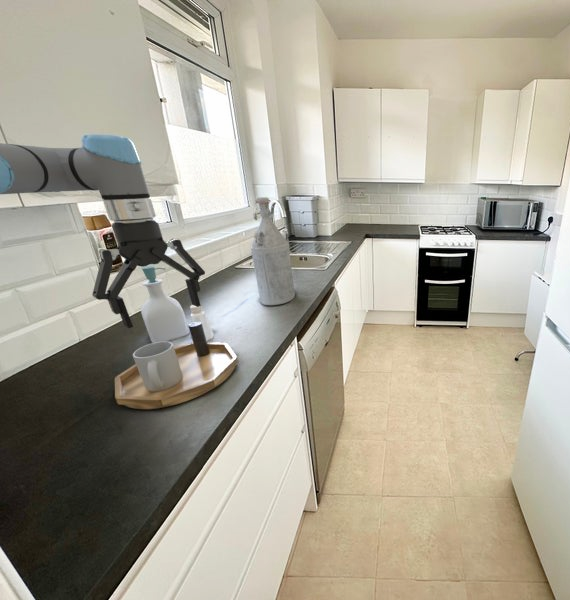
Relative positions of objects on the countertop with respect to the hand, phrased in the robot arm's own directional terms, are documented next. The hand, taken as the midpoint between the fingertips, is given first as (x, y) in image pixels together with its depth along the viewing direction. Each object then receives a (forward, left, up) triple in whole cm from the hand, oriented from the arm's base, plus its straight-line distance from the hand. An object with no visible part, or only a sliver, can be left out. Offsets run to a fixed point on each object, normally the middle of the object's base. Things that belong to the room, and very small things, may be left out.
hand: (165, 315), depth 72 cm
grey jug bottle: (+1, +52, -17) cm, 55 cm away
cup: (0, -6, -15) cm, 16 cm away
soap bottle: (-19, +19, -17) cm, 32 cm away
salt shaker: (-8, +19, -17) cm, 27 cm away
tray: (0, -1, -17) cm, 17 cm away
